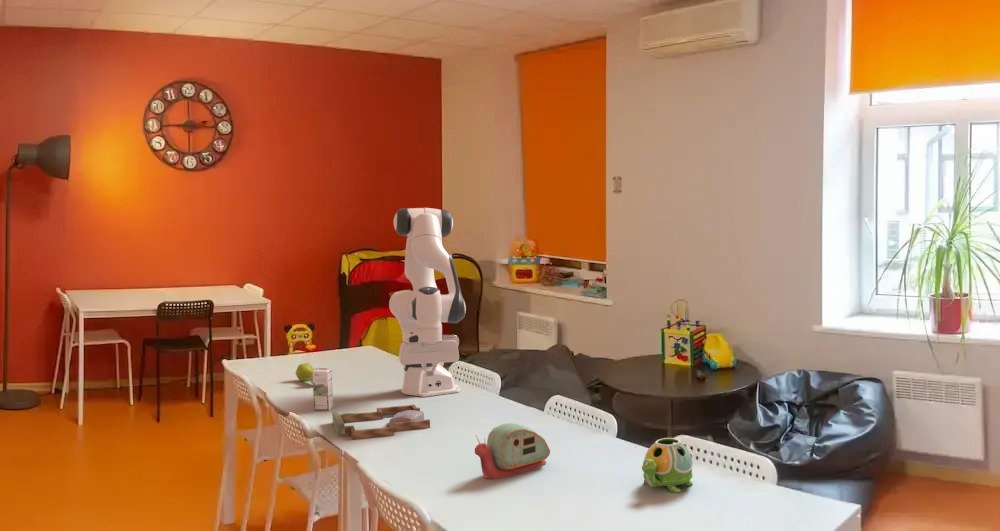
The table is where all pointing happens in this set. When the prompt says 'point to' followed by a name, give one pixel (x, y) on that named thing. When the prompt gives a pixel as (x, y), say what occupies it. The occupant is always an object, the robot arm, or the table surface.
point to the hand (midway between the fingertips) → (429, 376)
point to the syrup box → (322, 388)
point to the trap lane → (380, 414)
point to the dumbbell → (305, 372)
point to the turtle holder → (667, 465)
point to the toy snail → (511, 451)
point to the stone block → (407, 416)
